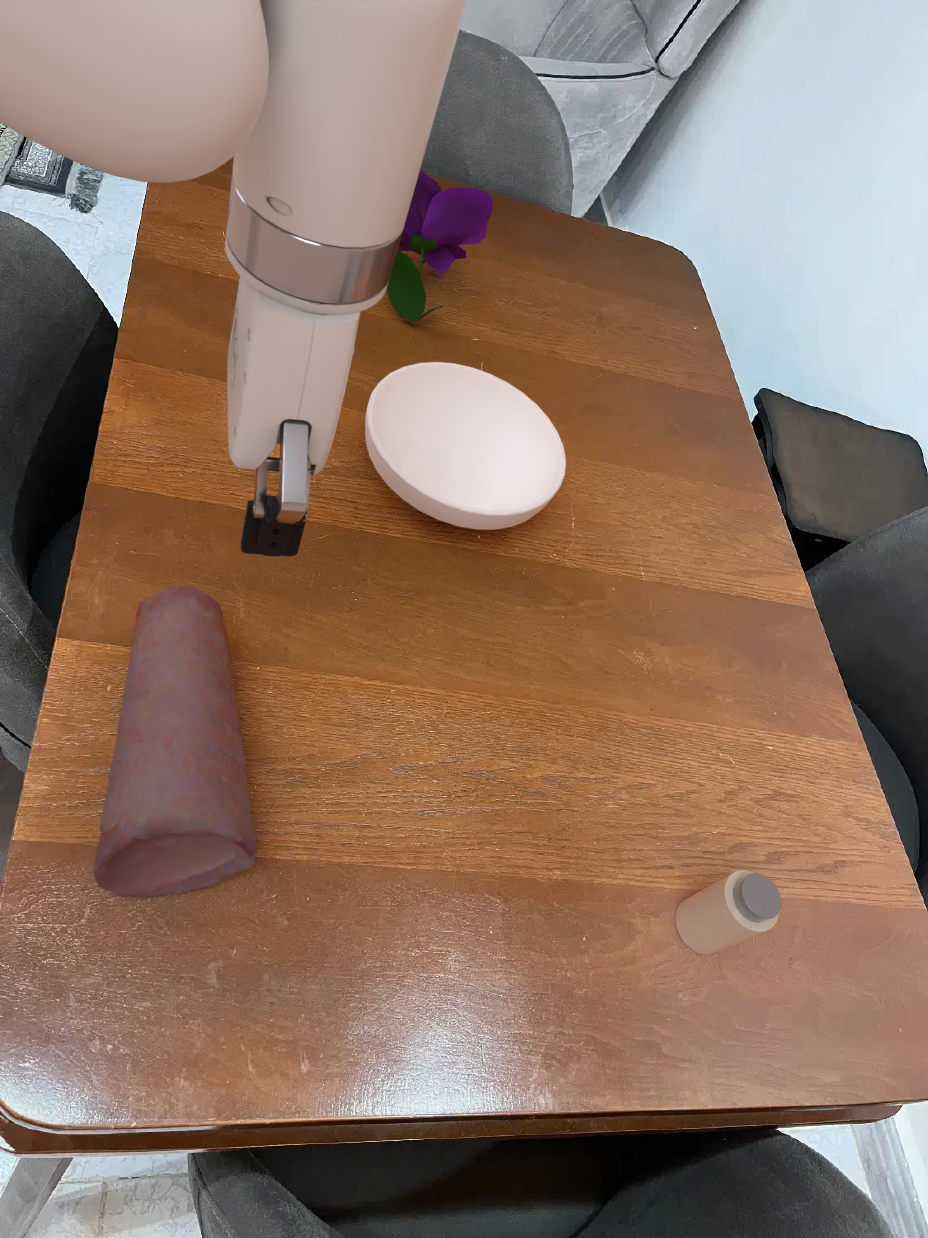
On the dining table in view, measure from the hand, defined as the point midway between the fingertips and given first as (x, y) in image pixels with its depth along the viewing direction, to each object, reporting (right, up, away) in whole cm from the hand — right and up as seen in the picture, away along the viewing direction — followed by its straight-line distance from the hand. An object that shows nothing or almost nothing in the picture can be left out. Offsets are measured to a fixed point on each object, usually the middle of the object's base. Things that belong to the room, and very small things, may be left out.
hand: (265, 487), depth 51 cm
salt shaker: (+31, -32, +14) cm, 46 cm away
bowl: (+10, +5, +33) cm, 35 cm away
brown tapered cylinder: (-8, -18, +9) cm, 21 cm away
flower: (+6, +30, +49) cm, 58 cm away
